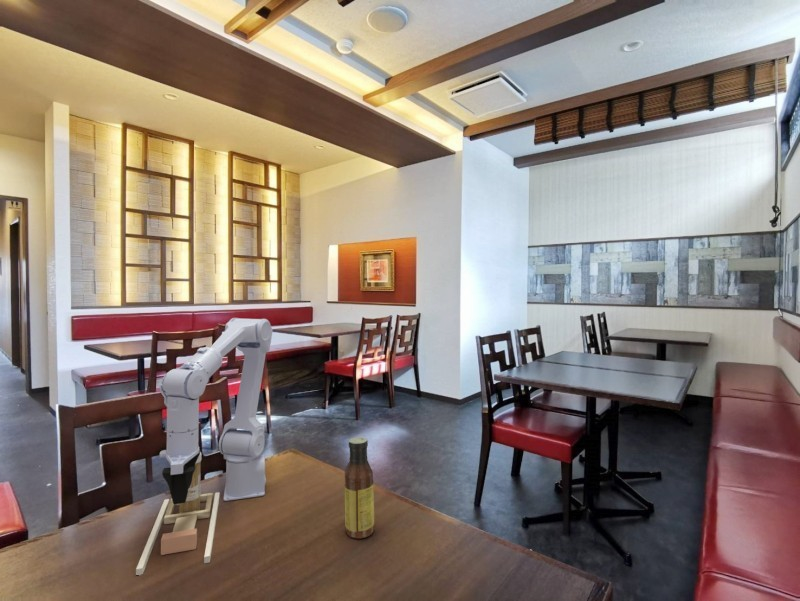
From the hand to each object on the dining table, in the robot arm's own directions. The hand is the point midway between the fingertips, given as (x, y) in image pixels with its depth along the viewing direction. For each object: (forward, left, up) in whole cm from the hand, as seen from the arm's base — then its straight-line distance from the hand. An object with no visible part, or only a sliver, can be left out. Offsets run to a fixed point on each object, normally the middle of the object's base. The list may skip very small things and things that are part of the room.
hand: (182, 495), depth 84 cm
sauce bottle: (-35, +8, -10) cm, 37 cm away
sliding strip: (0, -6, -9) cm, 11 cm away
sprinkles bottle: (0, -12, -10) cm, 15 cm away
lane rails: (0, -4, -9) cm, 10 cm away
